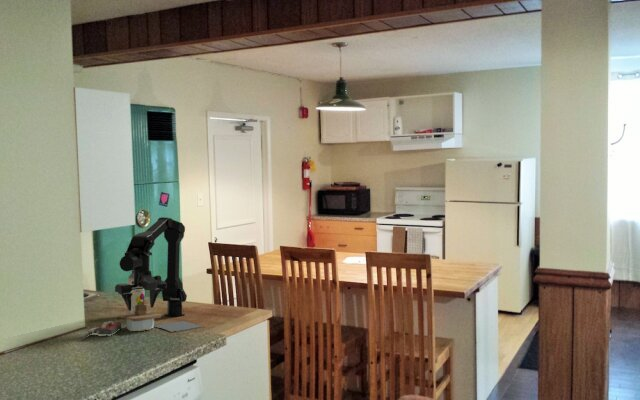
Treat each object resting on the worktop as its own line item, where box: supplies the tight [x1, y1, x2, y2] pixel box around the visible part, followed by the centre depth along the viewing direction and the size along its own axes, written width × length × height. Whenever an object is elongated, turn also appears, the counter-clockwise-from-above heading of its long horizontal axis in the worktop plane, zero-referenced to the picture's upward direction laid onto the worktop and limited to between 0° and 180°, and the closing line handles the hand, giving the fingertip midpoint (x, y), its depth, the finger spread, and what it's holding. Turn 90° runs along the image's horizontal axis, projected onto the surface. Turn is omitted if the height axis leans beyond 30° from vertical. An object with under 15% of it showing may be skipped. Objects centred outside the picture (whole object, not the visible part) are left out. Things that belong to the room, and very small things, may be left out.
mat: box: [154, 320, 203, 332], centre depth 221 cm, size 13×13×1 cm
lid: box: [119, 304, 162, 322], centre depth 217 cm, size 11×11×4 cm
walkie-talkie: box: [80, 320, 122, 340], centre depth 207 cm, size 9×4×20 cm
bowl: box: [126, 318, 155, 330], centre depth 217 cm, size 10×10×4 cm
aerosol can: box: [127, 272, 146, 313], centre depth 240 cm, size 7×7×20 cm
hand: (140, 308), depth 217 cm, fingers open, 9 cm apart
